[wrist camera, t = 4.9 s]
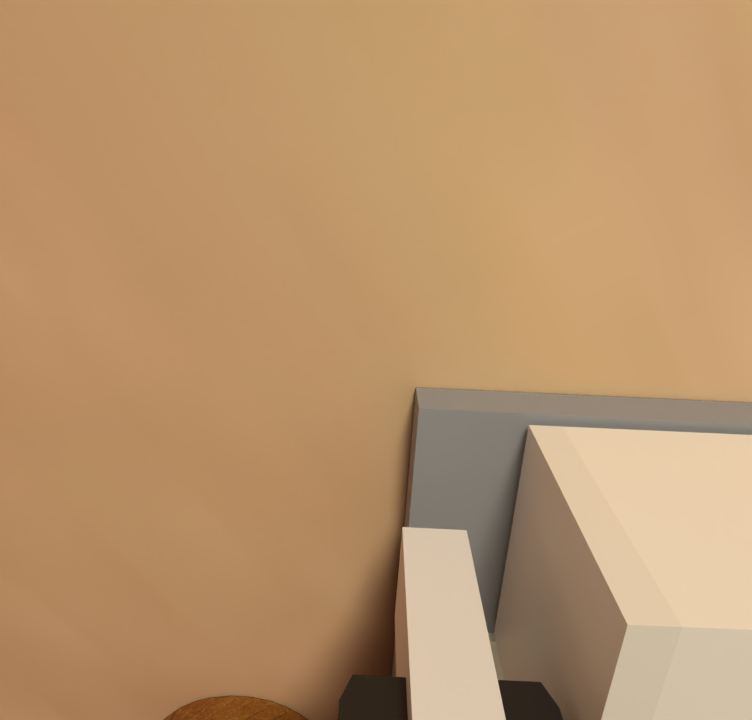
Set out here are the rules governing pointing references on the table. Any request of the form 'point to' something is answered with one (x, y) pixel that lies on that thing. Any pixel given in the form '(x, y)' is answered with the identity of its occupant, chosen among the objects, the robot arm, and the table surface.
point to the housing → (632, 574)
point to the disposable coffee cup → (234, 710)
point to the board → (517, 460)
